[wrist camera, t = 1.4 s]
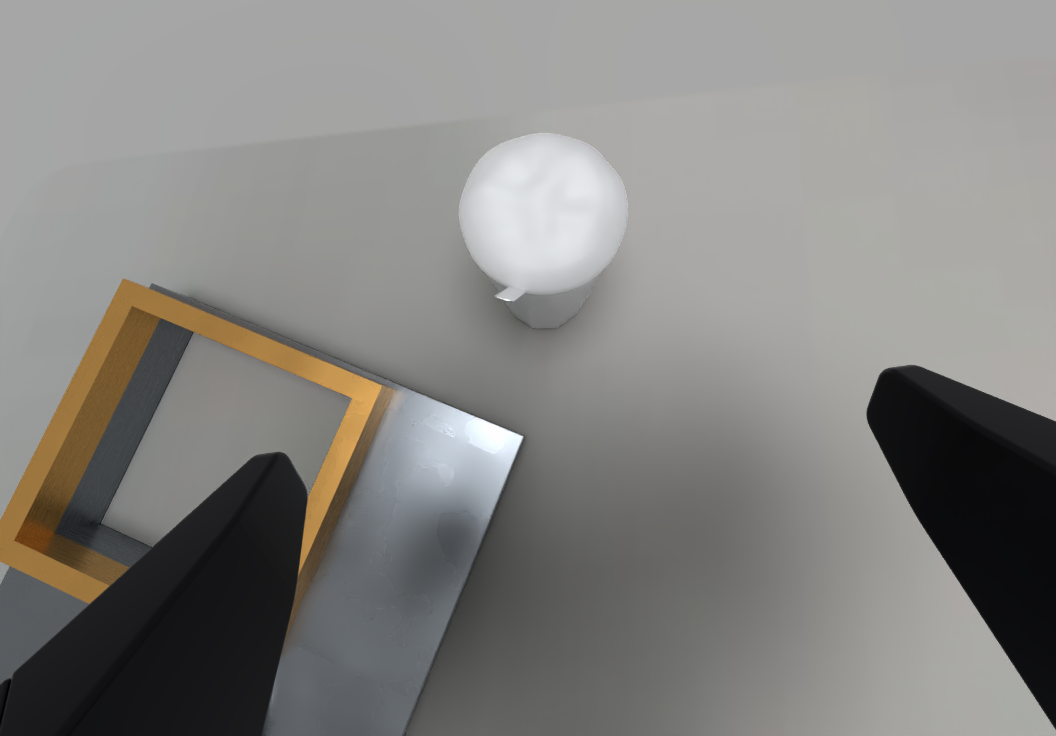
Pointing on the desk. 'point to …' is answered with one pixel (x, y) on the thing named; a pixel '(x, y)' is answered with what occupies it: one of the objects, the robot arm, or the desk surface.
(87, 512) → the orange-framed metal plate
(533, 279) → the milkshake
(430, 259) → the desk surface
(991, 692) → the desk surface
